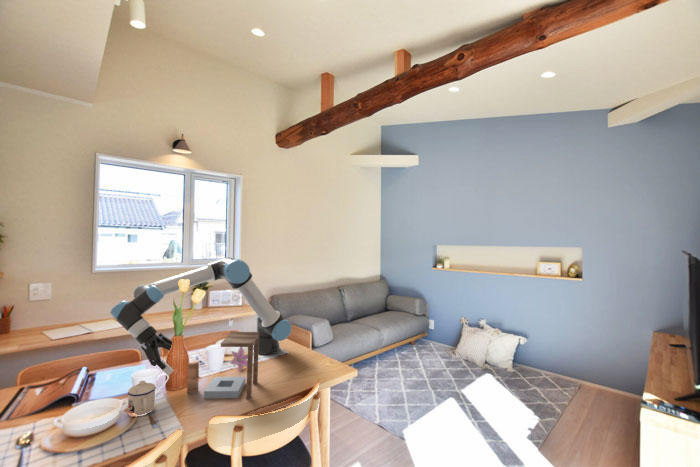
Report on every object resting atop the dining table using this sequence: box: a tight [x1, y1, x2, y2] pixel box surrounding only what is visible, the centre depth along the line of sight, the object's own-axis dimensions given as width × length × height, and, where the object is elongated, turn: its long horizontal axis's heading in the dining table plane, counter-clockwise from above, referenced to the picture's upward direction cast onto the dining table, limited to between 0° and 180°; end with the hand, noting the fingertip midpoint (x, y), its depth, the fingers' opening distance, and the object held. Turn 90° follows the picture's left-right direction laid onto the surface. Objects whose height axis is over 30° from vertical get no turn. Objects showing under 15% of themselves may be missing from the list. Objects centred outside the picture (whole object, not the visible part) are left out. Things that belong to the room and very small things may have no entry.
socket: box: [203, 376, 246, 399], centre depth 148 cm, size 14×14×3 cm
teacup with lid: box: [127, 380, 156, 415], centre depth 128 cm, size 12×9×12 cm
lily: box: [229, 347, 248, 373], centre depth 172 cm, size 12×12×10 cm
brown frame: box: [220, 331, 259, 400], centre depth 148 cm, size 16×13×24 cm
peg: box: [186, 360, 200, 394], centre depth 147 cm, size 4×4×12 cm
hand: (178, 366), depth 145 cm, fingers open, 13 cm apart
